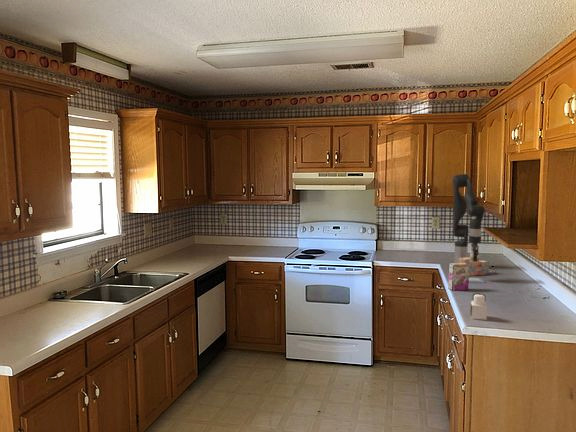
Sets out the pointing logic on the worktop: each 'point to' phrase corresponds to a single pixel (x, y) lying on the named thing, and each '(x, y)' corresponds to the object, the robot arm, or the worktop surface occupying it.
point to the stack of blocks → (476, 266)
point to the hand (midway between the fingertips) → (474, 260)
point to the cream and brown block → (472, 258)
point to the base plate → (476, 280)
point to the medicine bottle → (478, 307)
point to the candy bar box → (458, 276)
